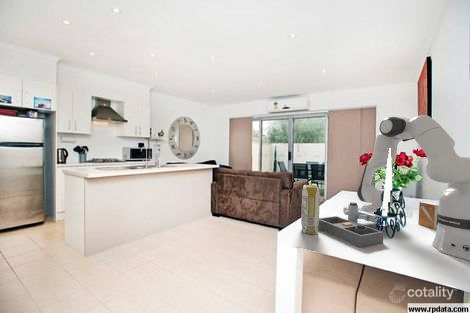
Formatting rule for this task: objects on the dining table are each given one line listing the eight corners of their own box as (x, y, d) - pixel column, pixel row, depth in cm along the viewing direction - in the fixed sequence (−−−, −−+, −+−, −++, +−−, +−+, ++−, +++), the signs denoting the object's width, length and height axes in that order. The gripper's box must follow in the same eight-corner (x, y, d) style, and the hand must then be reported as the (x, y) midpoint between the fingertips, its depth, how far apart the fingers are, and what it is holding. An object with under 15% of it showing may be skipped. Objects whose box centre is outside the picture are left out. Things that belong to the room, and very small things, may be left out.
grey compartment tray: (383, 243, 100) (383, 230, 100) (360, 247, 94) (361, 234, 94) (335, 225, 124) (336, 215, 124) (316, 227, 118) (316, 217, 118)
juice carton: (319, 235, 107) (321, 185, 107) (302, 234, 109) (303, 184, 108) (316, 229, 117) (317, 182, 116) (300, 227, 118) (301, 182, 118)
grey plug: (359, 228, 120) (360, 203, 119) (353, 229, 118) (354, 204, 118) (351, 225, 124) (352, 201, 124) (345, 226, 122) (346, 202, 122)
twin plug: (369, 237, 101) (369, 227, 101) (361, 238, 99) (362, 228, 99) (359, 234, 105) (360, 223, 105) (352, 235, 103) (353, 224, 103)
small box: (418, 224, 129) (419, 201, 128) (425, 223, 131) (426, 201, 130) (434, 229, 121) (435, 205, 121) (442, 228, 123) (443, 204, 123)
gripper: (353, 203, 135) (336, 204, 130) (387, 212, 117) (369, 214, 111) (353, 213, 136) (335, 215, 130) (387, 224, 117) (369, 227, 111)
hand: (351, 215), depth 120 cm, fingers open, 6 cm apart
